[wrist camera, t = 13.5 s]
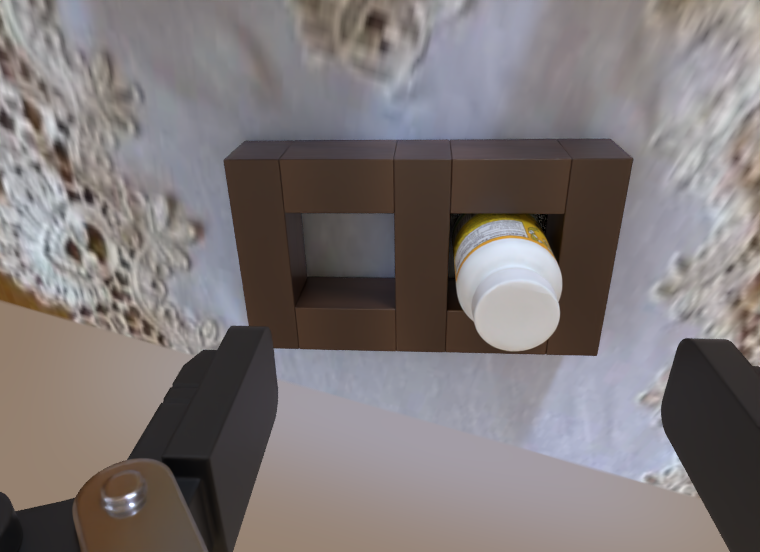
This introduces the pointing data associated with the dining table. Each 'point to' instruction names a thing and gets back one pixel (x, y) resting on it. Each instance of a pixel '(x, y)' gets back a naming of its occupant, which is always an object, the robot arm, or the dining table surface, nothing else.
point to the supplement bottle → (507, 279)
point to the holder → (420, 234)
